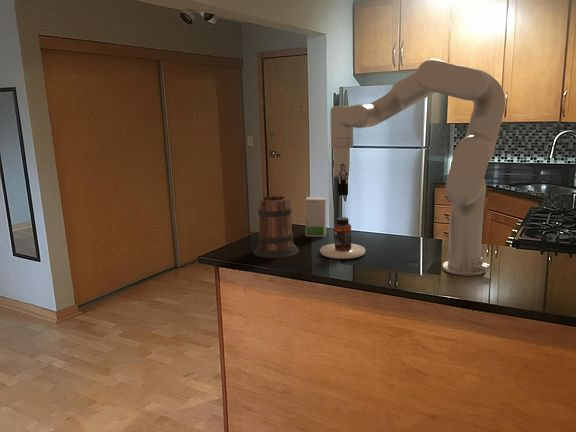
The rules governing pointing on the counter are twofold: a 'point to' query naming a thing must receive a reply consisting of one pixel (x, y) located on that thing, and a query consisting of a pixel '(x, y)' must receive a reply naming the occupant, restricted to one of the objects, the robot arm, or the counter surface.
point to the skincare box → (316, 216)
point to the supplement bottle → (342, 234)
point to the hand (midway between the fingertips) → (342, 192)
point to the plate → (333, 253)
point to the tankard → (275, 228)
